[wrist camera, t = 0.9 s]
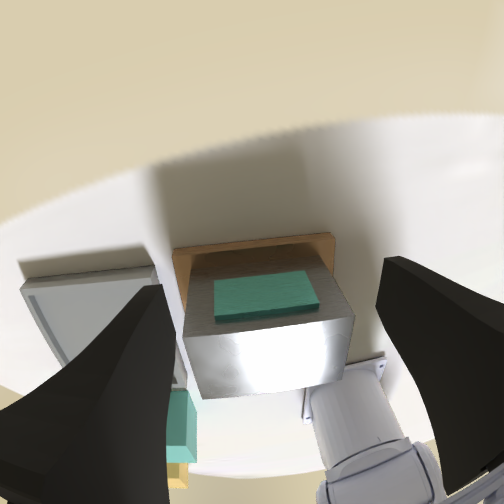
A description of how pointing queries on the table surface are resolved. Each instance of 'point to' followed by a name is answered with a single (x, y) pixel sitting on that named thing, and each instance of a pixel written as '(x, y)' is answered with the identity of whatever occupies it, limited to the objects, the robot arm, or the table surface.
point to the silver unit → (263, 315)
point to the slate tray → (86, 308)
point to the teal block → (181, 429)
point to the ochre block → (177, 475)
